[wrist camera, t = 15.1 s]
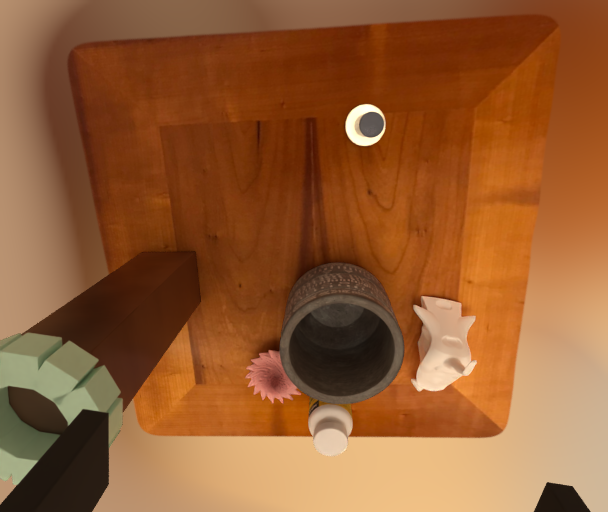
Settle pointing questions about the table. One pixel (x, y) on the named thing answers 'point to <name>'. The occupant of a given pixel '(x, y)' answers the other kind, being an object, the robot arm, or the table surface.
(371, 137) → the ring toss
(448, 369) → the figurine
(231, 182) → the table surface
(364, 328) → the planter
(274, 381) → the flower
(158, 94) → the table surface
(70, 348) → the ring
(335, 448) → the supplement bottle
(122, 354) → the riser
